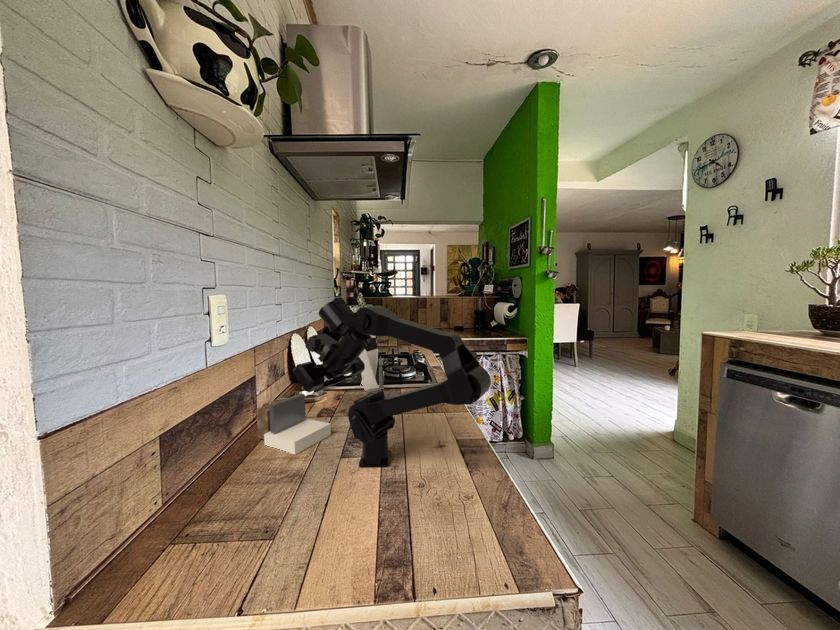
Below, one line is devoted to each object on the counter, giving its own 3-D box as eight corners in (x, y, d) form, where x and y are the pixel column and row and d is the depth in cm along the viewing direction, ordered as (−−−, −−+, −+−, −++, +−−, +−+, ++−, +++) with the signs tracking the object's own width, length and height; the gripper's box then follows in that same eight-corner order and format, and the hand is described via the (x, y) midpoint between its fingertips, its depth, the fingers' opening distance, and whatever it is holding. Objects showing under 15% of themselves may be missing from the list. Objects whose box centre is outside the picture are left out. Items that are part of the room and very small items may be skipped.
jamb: (293, 430, 94) (292, 401, 94) (268, 441, 87) (267, 411, 87) (283, 427, 96) (281, 399, 96) (258, 438, 89) (256, 408, 89)
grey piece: (305, 419, 93) (304, 394, 93) (274, 433, 85) (273, 405, 84) (286, 415, 97) (285, 390, 96) (254, 428, 88) (253, 401, 87)
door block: (330, 434, 91) (330, 423, 91) (295, 454, 80) (294, 442, 80) (302, 427, 96) (301, 417, 96) (264, 445, 85) (264, 434, 85)
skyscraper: (364, 393, 126) (361, 317, 124) (355, 388, 133) (352, 315, 131) (384, 389, 131) (382, 315, 129) (375, 384, 138) (373, 314, 135)
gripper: (354, 319, 88) (323, 358, 95) (296, 327, 72) (264, 374, 78) (380, 352, 85) (347, 390, 91) (326, 368, 69) (290, 413, 75)
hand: (314, 390), depth 84 cm, fingers closed
